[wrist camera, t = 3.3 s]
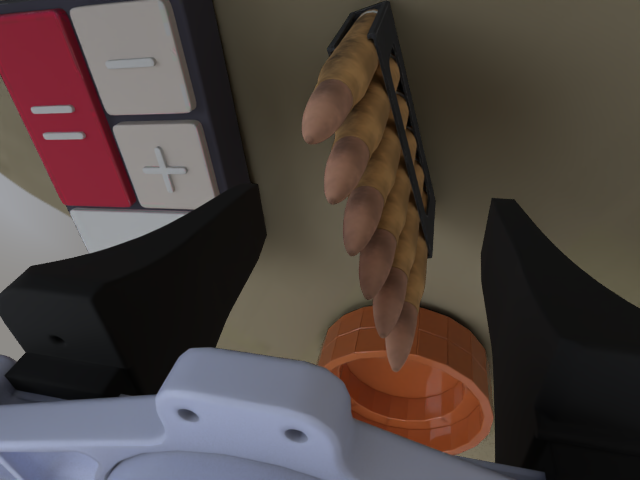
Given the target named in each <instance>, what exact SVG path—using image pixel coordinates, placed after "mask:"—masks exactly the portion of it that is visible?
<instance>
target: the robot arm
mask: <svg viewBox="0 0 640 480" xmlns="http://www.w3.org/2000/svg"><path fill="white" fill-rule="evenodd" d="M266 236H267V234H266V228H265V222H264V216H263V211H262V205H261V199H260V193H259V188H258V184H248V183H240V184H238V185H235V186H233V187H232V188H230V189H228V190H226V191H225V192H223V193H221V194H220V195H218V196H216V197H215V198H213V199H211V200H210V201H208V202H206V203H205V204H203V205H201V206H200V207H198V208H196V209H195V210H193V211H191V212H189V213H187V214H186V215H184V216H182V217H180V218H178V219H176V220H175V221H173V222H171V223H169V224H167V225H165V226H163V227H161V228H159V229H157V230H154V231H152V232H150V233H147V234H145V235H143V236H140V237H138V238H135V239H132V240H130V241H127V242H124V243H121V244H118V245H116V246H113V247H110V248H107V249H103V250H100V251H96V252H93V253H89V254H85V255H82V256H78V257H74V258H69V259H65V260H60V261H55V262H50V263H45V264H39V265H34V266H31V267H29V268H28V269H27V270H26V271H25V272H24V273H23V274H21V275H20V276H19V277H18V278H17V279H16V280H15V281H14V282H13V283H11V284H10V285H9V286H8V287H7V288H6V289H4V290H3V291H2V292H1V293H0V316H1V318H2V319H3V321H4V323H5V324H6V326H7V327H8V328H9V330H10V331H11V332H12V334H13V335H14V336H15V338H16V340H17V341H18V342H19V344H20V345H21V346H22V348H23V349H24V351H25V352H26V353H25V354H24V355H23V356H22V357H21V358H20V359H19V360H18V361H17V362H16V361H15V360H14V359H12V358H10V357H7V356H4V355H0V480H640V308H638V307H636V306H635V305H633V304H631V303H629V302H628V301H626V300H625V299H623V298H621V297H620V296H618V295H617V294H615V293H614V292H612V291H611V290H609V289H608V288H606V287H605V286H603V285H602V284H600V283H599V282H597V281H596V280H595V279H593V278H592V277H591V276H590V275H588V274H587V273H586V272H584V271H583V270H582V269H581V268H579V267H578V266H577V265H576V264H574V263H573V262H572V261H571V260H570V259H569V258H568V257H567V256H566V255H564V254H563V253H562V252H561V251H560V250H559V249H558V248H557V247H556V246H555V245H554V244H553V243H552V242H551V241H550V240H549V239H548V238H547V237H546V236H545V235H544V234H543V233H542V231H541V230H540V229H539V228H538V227H537V226H536V225H535V223H534V222H533V221H532V220H531V219H530V218H529V216H528V215H527V214H526V213H525V212H524V210H523V209H522V208H521V207H520V206H519V204H518V203H517V202H516V201H515V200H514V199H499V198H492V199H491V205H490V210H489V215H488V220H487V225H486V230H485V235H484V241H483V246H482V251H481V282H482V289H483V295H484V302H485V308H486V314H487V320H488V327H489V333H490V339H491V346H492V356H493V378H494V410H495V463H493V462H487V461H482V460H477V459H471V458H466V457H460V456H455V455H450V454H447V453H444V452H442V451H439V450H437V449H434V448H431V447H429V446H426V445H423V444H421V443H418V442H415V441H413V440H410V439H407V438H405V437H402V436H400V435H397V434H394V433H392V432H389V431H386V430H384V429H381V428H378V427H376V426H373V425H370V424H368V423H365V422H362V421H360V420H357V419H355V418H353V417H352V413H351V397H350V395H349V393H348V391H347V388H346V386H345V384H344V382H343V381H342V380H341V379H340V378H338V377H337V376H336V375H334V374H333V373H331V372H330V371H329V370H327V369H326V368H324V367H321V366H318V365H315V364H312V363H309V362H306V361H300V360H293V359H287V358H280V357H273V356H267V355H260V354H253V353H247V352H240V351H233V350H227V349H220V348H216V345H217V342H218V340H219V337H220V335H221V332H222V330H223V327H224V325H225V322H226V320H227V318H228V316H229V313H230V311H231V309H232V308H233V306H234V304H235V302H236V300H237V298H238V296H239V295H240V293H241V291H242V289H243V287H244V285H245V283H246V282H247V280H248V278H249V276H250V274H251V272H252V270H253V268H254V267H255V265H256V263H257V261H258V259H259V256H260V253H261V250H262V248H263V245H264V242H265V239H266Z"/></svg>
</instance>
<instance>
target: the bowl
mask: <svg viewBox="0 0 640 480" xmlns="http://www.w3.org/2000/svg"><path fill="white" fill-rule="evenodd" d="M316 365H318V366H321V367H324V368H326V369H327V370H329V371H330V372H331V373H333V374H334V375H336V376H337V377H338V378H340V379H341V380H342V381H343V382H344V384H345V386H346V388H347V391H348V393H349V395H350V397H351V413H352V417H353V418H355V419H357V420H360V421H362V422H365V423H368V424H370V425H373V426H376V427H378V428H381V429H384V430H386V431H389V432H392V433H394V434H397V435H400V436H402V437H405V438H407V439H410V440H413V441H415V442H418V443H421V444H423V445H426V446H429V447H431V448H434V449H437V450H439V451H442V452H444V453H447V454H450V455H456V454H459V453H462V452H464V451H466V450H469V449H471V448H473V447H475V446H477V445H478V444H479V443H480V442H481V441H482V440H483V439H484V438H485V437H486V436H487V435H488V434H489V433H490V429H491V426H492V422H493V419H494V411H493V399H492V387H491V375H490V365H489V362H488V358H487V354H486V351H485V348H484V347H483V346H482V345H481V343H480V342H479V341H478V340H477V338H476V337H475V336H474V335H473V334H472V332H471V331H470V330H468V329H467V328H465V327H464V326H462V325H461V324H459V323H458V322H456V321H454V320H453V319H451V318H450V317H447V316H445V315H442V314H439V313H436V312H434V311H431V310H428V309H425V308H422V307H421V308H420V307H419V313H418V316H417V325H416V331H415V336H414V340H413V344H412V347H411V350H410V353H409V355H408V358H407V360H406V362H405V364H404V365H403V367H402V368H401V369H400V370H399V371H398V372H394V371H393V370H392V368H391V366H390V363H389V360H388V357H387V351H386V343H385V338H381V337H380V336H379V334H378V332H377V329H376V326H375V322H374V315H373V306H367V307H362V308H360V309H357V310H355V311H352V312H350V313H348V314H345V315H343V316H342V317H341V318H340V319H339V320H337V321H336V322H335V323H334V324H333V325H332V326H331V327H330V328H329V329H328V331H327V334H326V336H325V339H324V341H323V344H322V347H321V351H320V354H319V358H318V361H317V364H316Z"/></svg>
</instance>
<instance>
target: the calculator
mask: <svg viewBox="0 0 640 480" xmlns="http://www.w3.org/2000/svg"><path fill="white" fill-rule="evenodd" d="M0 75H1V77H2V79H3V81H4V83H5V85H6V87H7V89H8V91H9V93H10V95H11V98H12V100H13V102H14V104H15V106H16V108H17V110H18V112H19V114H20V116H21V118H22V120H23V123H24V125H25V127H26V129H27V131H28V133H29V135H30V137H31V139H32V141H33V143H34V145H35V148H36V150H37V152H38V154H39V156H40V158H41V160H42V162H43V164H44V166H45V168H46V170H47V173H48V175H49V177H50V179H51V181H52V183H53V185H54V187H55V189H56V191H57V193H58V195H59V198H60V199H61V201H62V203H63V204H65V205H66V207H67V209H68V211H69V213H70V215H71V217H72V219H73V221H74V223H75V226H76V228H77V230H78V232H79V234H80V236H81V238H82V240H83V242H84V244H85V247H86V249H87V251H88V253H93V252H96V251H100V250H103V249H107V248H110V247H113V246H116V245H118V244H121V243H124V242H127V241H130V240H132V239H135V238H138V237H140V236H143V235H145V234H147V233H150V232H152V231H154V230H157V229H159V228H161V227H163V226H165V225H167V224H169V223H171V222H173V221H175V220H176V219H178V218H180V217H182V216H184V215H186V214H187V213H189V212H191V211H193V210H195V209H196V208H198V207H200V206H201V205H203V204H205V203H206V202H208V201H210V200H211V199H213V198H215V197H216V196H218V195H220V194H221V193H223V192H225V191H226V190H228V189H230V188H232V187H233V186H235V185H238V184H240V183H248V184H251V182H250V180H249V175H248V170H247V166H246V161H245V156H244V151H243V146H242V142H241V137H240V132H239V127H238V123H237V118H236V113H235V108H234V103H233V99H232V94H231V89H230V84H229V80H228V75H227V70H226V65H225V60H224V56H223V51H222V46H221V41H220V36H219V32H218V27H217V22H216V17H215V13H214V8H213V3H212V0H3V1H0Z"/></svg>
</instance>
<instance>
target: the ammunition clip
mask: <svg viewBox="0 0 640 480" xmlns="http://www.w3.org/2000/svg"><path fill="white" fill-rule="evenodd" d="M327 51H328V54H329V58H328V60H327V61H326V62H325V64H324V65H323V67H322V69H321V71H320V74H319V77H318V83H317V84H316V86H315V89H314V91H313V93H312V94H311V96H310V98H309V100H308V103H307V105H306V108H305V111H304V114H303V119H302V135H303V138H304V140H305V141H306V143H308V144H317V143H320V142H322V141H324V140H326V139H327V138H329V137H330V136H331V135H332V134H334V133H335V140H334V143H333V146H332V151H331V153H330V156H329V158H328V161H327V164H326V169H325V175H324V190H325V195H326V198H327V200H328V202H329V203H330V204H337V203H339V202H341V201H343V200H344V199H345V198H346V197H347V196H348V202H347V205H346V208H345V214H344V221H343V238H344V245H345V248H346V250H347V253H348V254H349V255H350V256H355V255H357V254H358V253H359V252H360V261H359V279H360V286H361V290H362V293H363V295H364V297H365V298H366V299H367V300H371V299H372V298H373V315H374V322H375V326H376V329H377V332H378V334H379V336H380V337H381V338H385V343H386V351H387V357H388V360H389V363H390V366H391V368H392V370H393V371H394V372H398V371H399V370H400V369H401V368H402V367H403V365H404V364H405V362H406V360H407V358H408V355H409V353H410V350H411V347H412V344H413V340H414V336H415V331H416V325H417V316H418V313H419V306H420V301H421V298H422V295H423V292H424V288H425V280H426V267H427V258H432V252H433V235H434V219H435V197H434V193H433V188H432V184H431V180H430V175H429V171H428V167H427V162H426V158H425V154H424V149H423V145H422V141H421V136H420V132H419V128H418V123H417V119H416V115H415V110H414V106H413V102H412V97H411V93H410V89H409V84H408V80H407V76H406V71H405V67H404V62H403V58H402V54H401V49H400V45H399V41H398V36H397V32H396V28H395V23H394V19H393V15H392V10H391V6H390V2H389V1H387V0H386V1H384V2H381V3H378V4H375V5H372V6H369V7H366V8H363V9H361V10H358V11H355V12H352V13H350V14H349V16H348V17H347V19H346V21H345V22H344V24H343V25H342V27H341V28H340V30H339V31H338V33H337V34H336V36H335V37H334V39H333V40H332V42H331V43H330V45H329V46H328V48H327Z"/></svg>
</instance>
